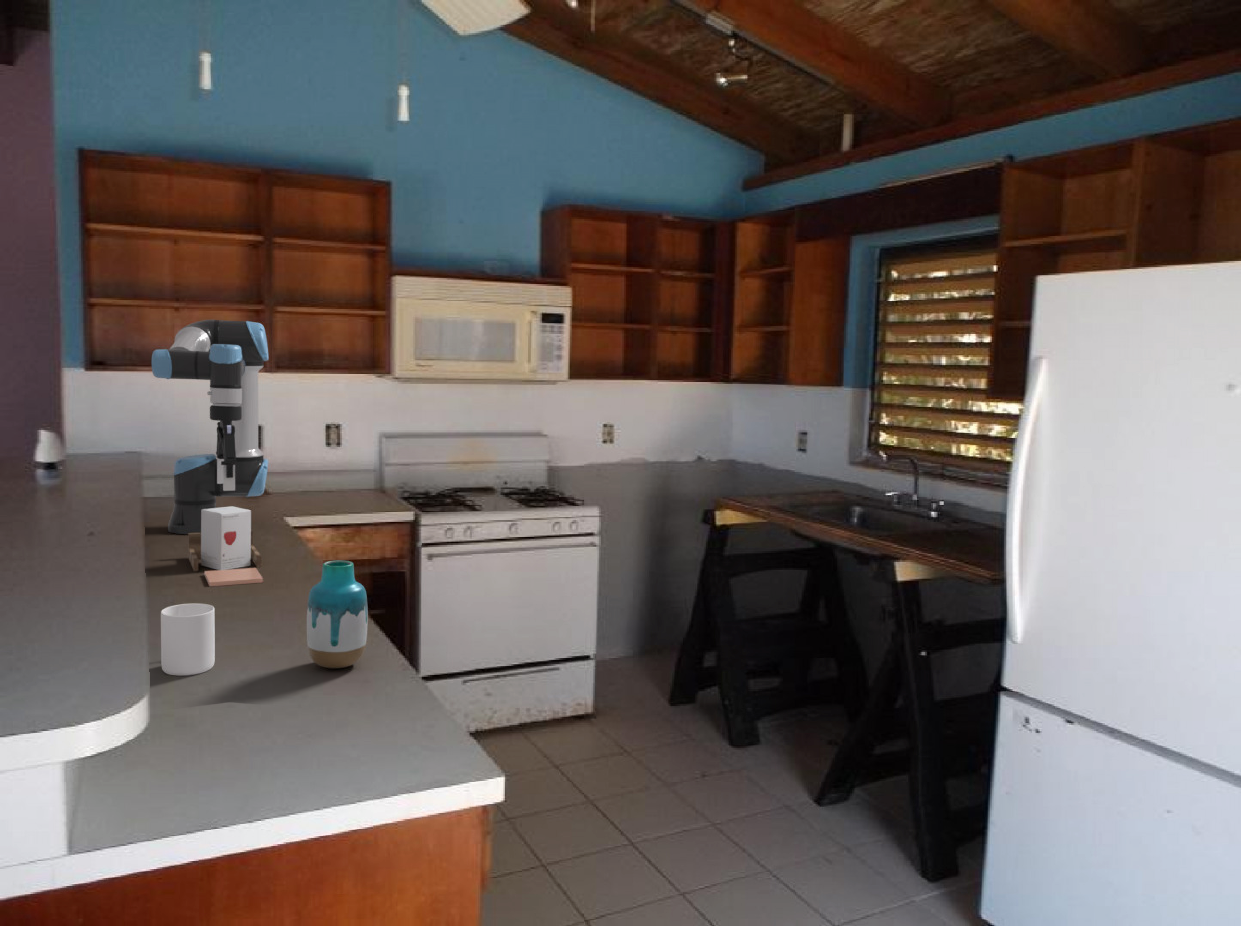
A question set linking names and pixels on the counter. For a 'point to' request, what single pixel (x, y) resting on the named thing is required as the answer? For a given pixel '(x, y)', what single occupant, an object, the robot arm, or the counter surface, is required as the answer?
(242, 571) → the terracotta tile
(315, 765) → the counter surface
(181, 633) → the mug
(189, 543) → the wooden u-shaped frame
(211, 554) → the supplement box
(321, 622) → the vase
